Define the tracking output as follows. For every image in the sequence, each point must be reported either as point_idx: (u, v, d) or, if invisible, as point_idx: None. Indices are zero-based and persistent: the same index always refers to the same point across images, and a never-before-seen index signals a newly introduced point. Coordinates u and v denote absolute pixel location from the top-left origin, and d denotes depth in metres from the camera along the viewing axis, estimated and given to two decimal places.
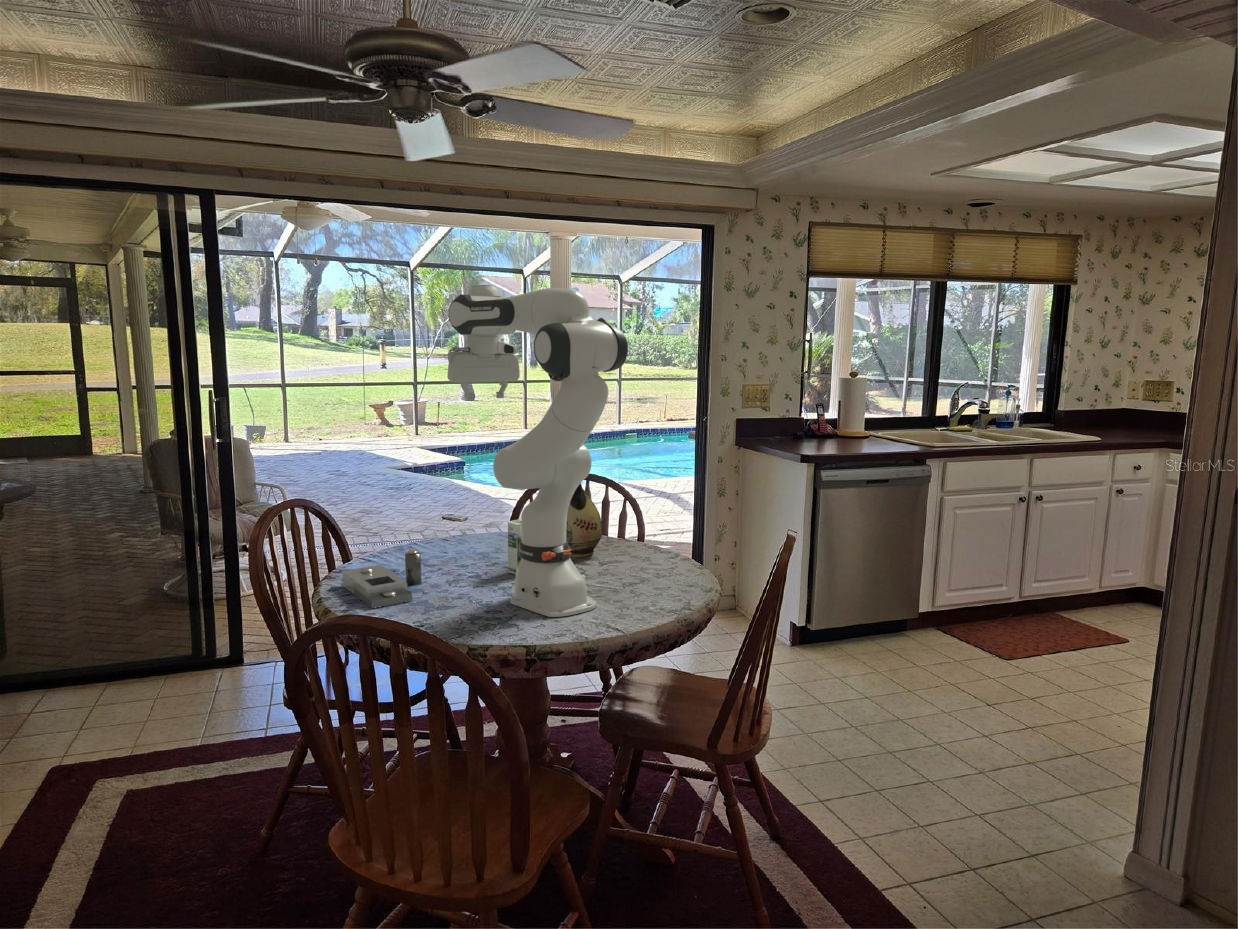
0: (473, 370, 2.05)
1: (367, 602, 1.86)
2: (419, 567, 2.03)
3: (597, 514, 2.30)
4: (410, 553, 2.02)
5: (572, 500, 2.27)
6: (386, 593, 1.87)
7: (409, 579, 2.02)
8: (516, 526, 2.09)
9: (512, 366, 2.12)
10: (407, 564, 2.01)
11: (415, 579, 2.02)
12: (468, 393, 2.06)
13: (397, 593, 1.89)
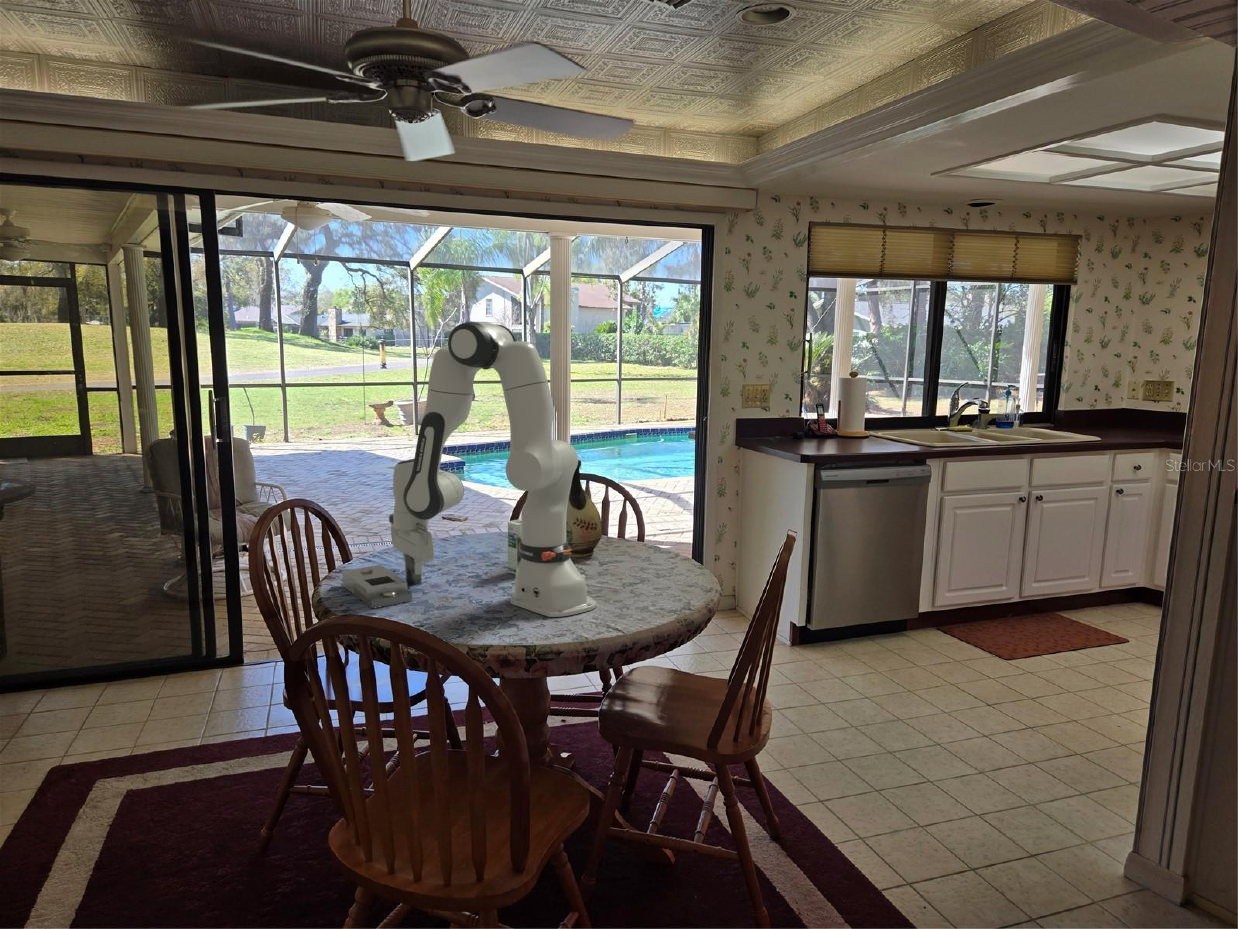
0: None
1: (367, 602, 1.86)
2: None
3: (597, 514, 2.30)
4: None
5: (572, 500, 2.27)
6: (386, 593, 1.87)
7: (409, 579, 2.02)
8: (516, 526, 2.09)
9: None
10: (407, 564, 2.01)
11: (415, 579, 2.02)
12: None
13: (397, 593, 1.89)
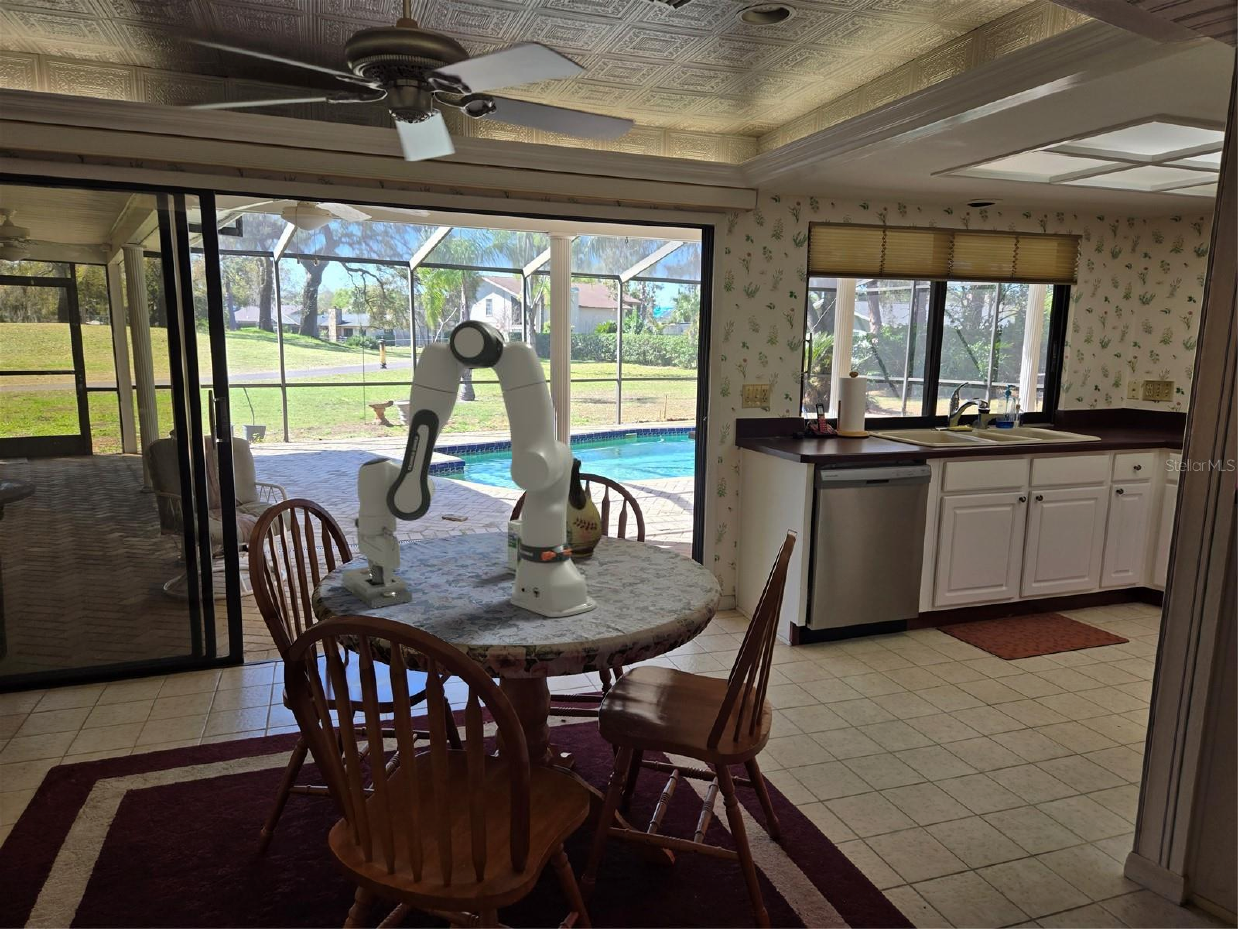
0: None
1: (367, 602, 1.86)
2: None
3: (597, 514, 2.30)
4: (377, 565, 1.90)
5: (572, 500, 2.27)
6: (386, 593, 1.87)
7: None
8: (516, 526, 2.09)
9: None
10: (373, 577, 1.90)
11: None
12: None
13: (397, 593, 1.89)
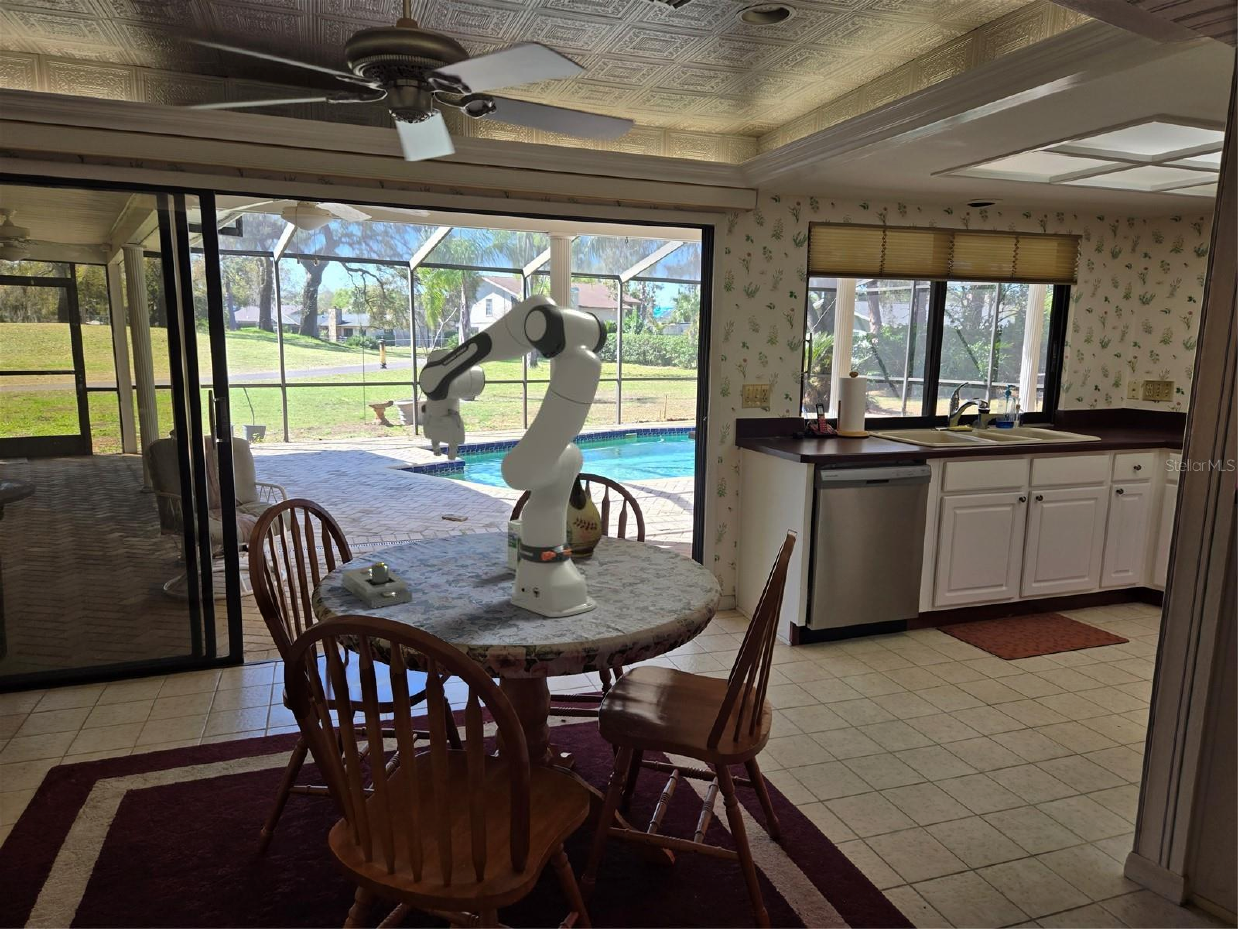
0: None
1: (367, 602, 1.86)
2: (386, 580, 1.91)
3: (597, 514, 2.30)
4: (377, 565, 1.90)
5: (572, 500, 2.27)
6: (386, 593, 1.87)
7: None
8: (516, 526, 2.09)
9: None
10: (373, 577, 1.90)
11: None
12: None
13: (397, 593, 1.89)
